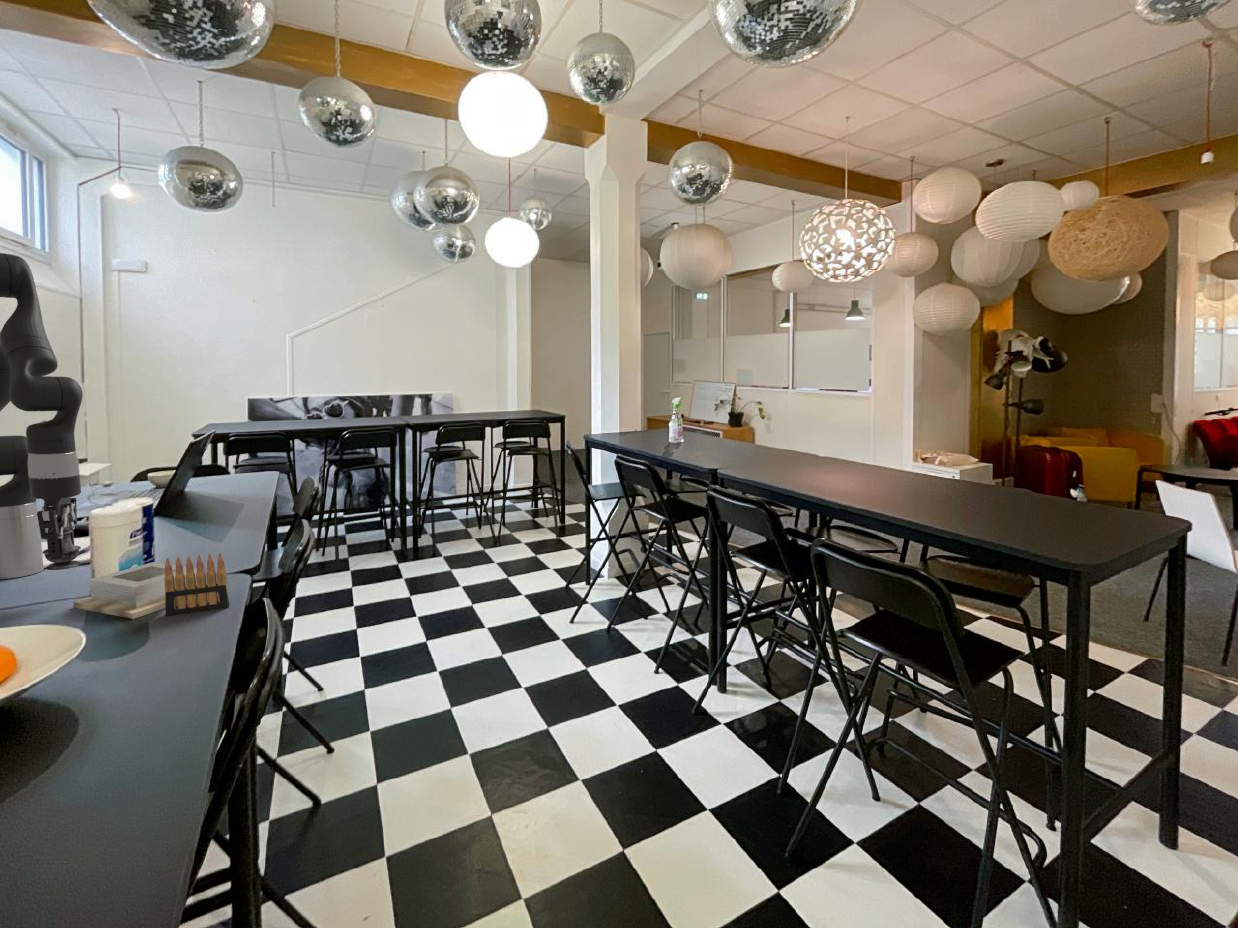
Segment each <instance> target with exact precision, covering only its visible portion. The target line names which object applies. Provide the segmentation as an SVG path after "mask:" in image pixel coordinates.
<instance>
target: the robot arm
mask: <svg viewBox="0 0 1238 928" xmlns="http://www.w3.org/2000/svg"><path fill="white" fill-rule="evenodd" d="M33 275H34V274H33V272H32V270H31V268H30V265H29V264H28V262H27V261H26V260H25V259H24V258H23V257H22V256H19V255H16V254H15V255H14V254H9V253H4V252H0V298H9V299H11V298H12V299H16V302H17V305H16V308H15V309H14V311H13V313H12V314H11V315H10V316H9V318H8V319H7V320H6V322H5V323H4V325H3V326H2V328H1V330H0V412H2V410H3V409H4V408H5V407H6V406H7V405H8V404H9V403H11V404H12V405H13V406H14V407H15V408H17V409H19V410H20V411H23V412H56V414H55V415H54V417H52V419H49V420H48V421H47V420H46V421H43V422H36V423H33V424H30V425H28V426H27V427H26V430H25V431H26V432H25V434H26V435H25V436H24V435H0V476H10V475H11V476H12V475H13V476H12V478H10V480H9V481H7V482H6V483H4V484H2V485H0V580H4V579H5V580H6V579H15V578H22V577H26V576H31V575H34V574H38V573H40V572H42V571H44V558H43V553H42V552H43V548H42V547H43V546H42V540H45V541H46V544H47V549H48V555H49V557H61V556H62V555H64V547H63V529H64V528H65V527H66V526H67V517H68V519H69V530H72V532H71V533H70V535H71V542H72V544H73V545H75V536H74V530H75V528H76V525H77V524H78V514H77V513H78V512H77V510H78V509H77V496H79V495H80V494H81V493H82V486H81V476H80V475H81V474H80V465H79V458H78V455H77V451H76V450H77V449H76V440H75V438H76V437H75V430H76V429H75V428H76V423H77V419H78V414H79V412H80V411H79V410H80V408H81V405H82V402H83V398H84V397H83V395H84V394H83V389H82V387H81V385H80V384H79V382H78V381H77V380H76V379H74V378H71V377H68V376H48V375H50V374H53V373H54V372H56V370H57V369H58V366H59V365H58V359H57V357H56V355H55V353H54V351H53V348H52V345H51V343H50V341H49V338H48V336H47V333H46V330H45V326H44V321H43V316H42V310H41V305H40V300H39V296H38V291H37V288H36V284H35V283H36V282H35V278H34V276H33ZM37 500H43V501H44V502H43V506H41V510H38V501H37ZM52 528H53V532H52V533H50V532H51V531H50V530H51V529H52Z"/></svg>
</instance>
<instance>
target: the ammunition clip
mask: <svg viewBox="0 0 1238 928" xmlns="http://www.w3.org/2000/svg"><path fill="white" fill-rule="evenodd" d="M203 560H204V559H203V557H202V555H200V554H199V555H198V556H197V559H196V568H197V573H196V578H195V573H194V568H195V567H194V562H193V559H192V557H191V556H190V555H188V556H187V559H186V565H185V567H186V584H185V576H184V572H183V562H182V561H183V560H182V559H181V558H180V557H179V556H177V558H176V562H175V565H176V576H175V580H174V576H173V571H172V565H173V564H172V561H171V560H170V558H169V557H168V558H166V560H165V579H164V581H165V608H164V610H165V617H173V616H180V615H187V614H195V613H203V612H209V611H217V610H223V609H225V610H226V609H229V608H230V597H229V591H228V581H227V579H228V577H227V571H226V566H225V560H224V556H223V554H222V552H219V554H218V556H217V571H216V568H215V563H214V558H213V555H212V554H211V553H209V554H208V556H207V561H206V565H207V567H206V570H207V571H206V572H205V567H204V565H205V564H204V561H203ZM171 564H172V565H171ZM196 583H197V586H196ZM175 584H176V589H175ZM186 595H187V596H186ZM176 599H177V604H176Z"/></svg>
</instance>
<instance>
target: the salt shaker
mask: <svg viewBox="0 0 1238 928" xmlns="http://www.w3.org/2000/svg"><path fill="white" fill-rule="evenodd" d="M52 532H53V528H52V529H51V530H50V533H52ZM71 532H72V530H69V519H68V517H67V526H66V527H65V528H64V529H63V547H64V555H62V556H61V557H49V555H48V548H47V549H44V550H42V555H44V557H45V559H46V560H47V561H48V562H50V564H49V565H47V566H46V567H45V569H46V570H47V571H48V570H49V571H61V570H68V569H71V568H76V567H78V566H81V564H82V563H81V562H80V561H77V560H75V559H76V558H77V557H78V556H79V554H80V550H81V549H82V547H81V546H79V545H75V544H74V545H73V544H72V542H71V535H70V533H71Z"/></svg>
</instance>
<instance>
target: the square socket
mask: <svg viewBox="0 0 1238 928" xmlns="http://www.w3.org/2000/svg"><path fill="white" fill-rule="evenodd" d="M165 563H166V562H165ZM165 563H164V562H158V561H152V562H148V563H145V564H140V565H137V566H134V567H130V568H127V569H123V570H118V571H116V572H112V573H108V574H104V575H101V576H97V577H94V578H90V579H89V589H90V597H91V600H94V601H100V602H105V603H110V604H116V605H121V606H127V607H132V608H139V607H142V606H145V605H148V604H151V603H154V602H157V601H160V600H163V599H165V581H164V579H165ZM171 565H172V571H173V576H174V580H175V576H176V564H173V563H171ZM193 568H194V573H195V578H196V573H197V567H193ZM183 572H184V576H185V584H186V565H185V566H183ZM196 586H197V583H196ZM175 589H176V584H175Z"/></svg>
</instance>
